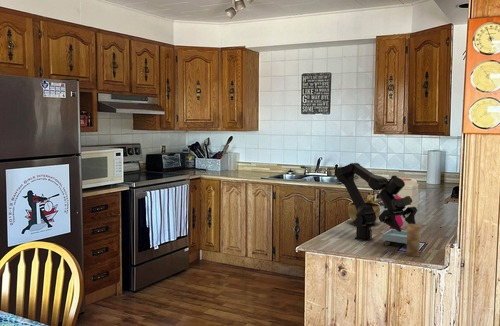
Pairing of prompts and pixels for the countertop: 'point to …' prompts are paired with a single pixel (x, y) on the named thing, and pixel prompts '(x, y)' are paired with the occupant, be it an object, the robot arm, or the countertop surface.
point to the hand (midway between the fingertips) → (408, 230)
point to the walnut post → (413, 240)
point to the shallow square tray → (395, 236)
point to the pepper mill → (398, 218)
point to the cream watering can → (408, 191)
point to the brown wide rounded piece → (369, 202)
